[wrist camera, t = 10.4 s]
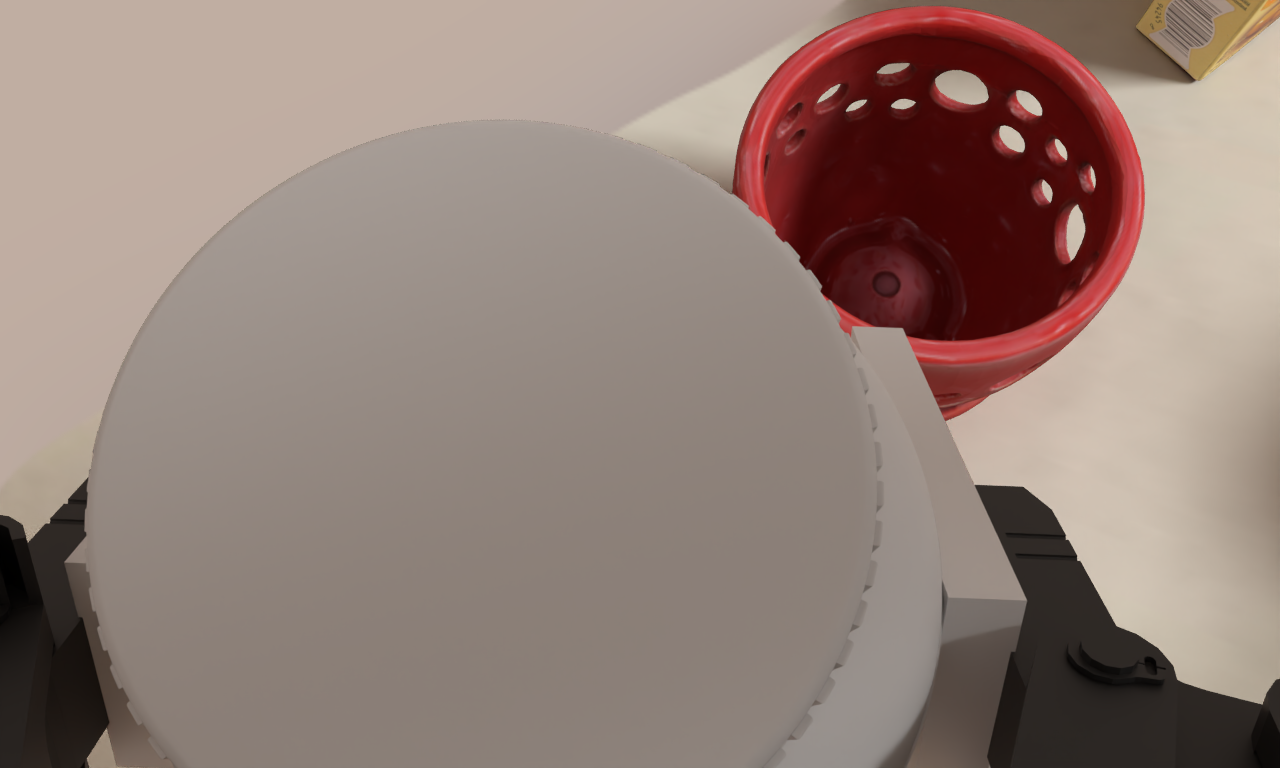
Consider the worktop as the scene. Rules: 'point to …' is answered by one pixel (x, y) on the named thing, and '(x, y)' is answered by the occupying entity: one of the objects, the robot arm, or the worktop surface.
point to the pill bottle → (509, 479)
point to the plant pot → (947, 190)
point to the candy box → (1205, 29)
